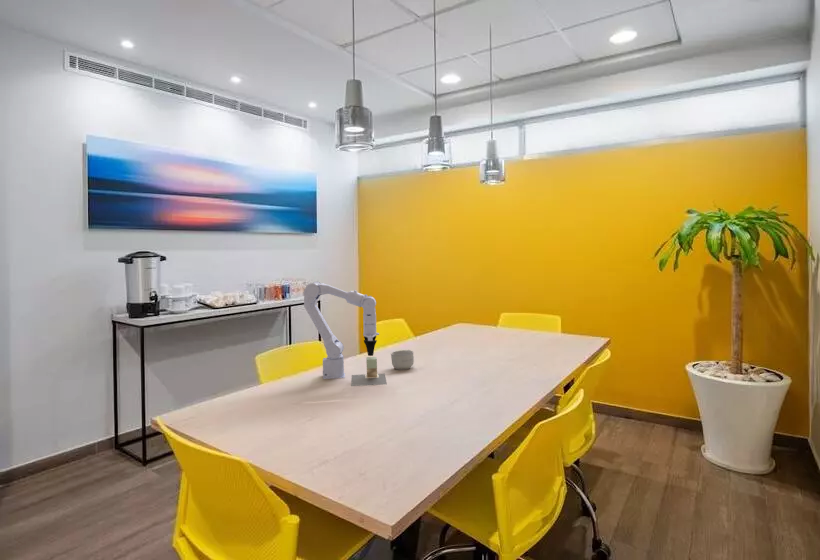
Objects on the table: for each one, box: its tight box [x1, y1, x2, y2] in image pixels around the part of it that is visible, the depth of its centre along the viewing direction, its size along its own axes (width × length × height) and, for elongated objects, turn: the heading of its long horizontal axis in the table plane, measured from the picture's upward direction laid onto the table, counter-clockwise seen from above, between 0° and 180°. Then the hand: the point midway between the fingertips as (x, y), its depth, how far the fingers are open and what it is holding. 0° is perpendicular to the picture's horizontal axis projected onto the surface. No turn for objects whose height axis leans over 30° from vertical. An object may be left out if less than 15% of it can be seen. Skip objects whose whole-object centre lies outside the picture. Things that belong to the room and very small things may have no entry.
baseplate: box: [350, 372, 388, 387], centre depth 207 cm, size 15×17×1 cm
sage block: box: [365, 356, 378, 370], centre depth 211 cm, size 4×4×4 cm
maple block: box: [366, 367, 378, 378], centre depth 212 cm, size 4×4×4 cm
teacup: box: [390, 349, 415, 371], centre depth 227 cm, size 14×11×8 cm
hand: (370, 353), depth 212 cm, fingers open, 7 cm apart
